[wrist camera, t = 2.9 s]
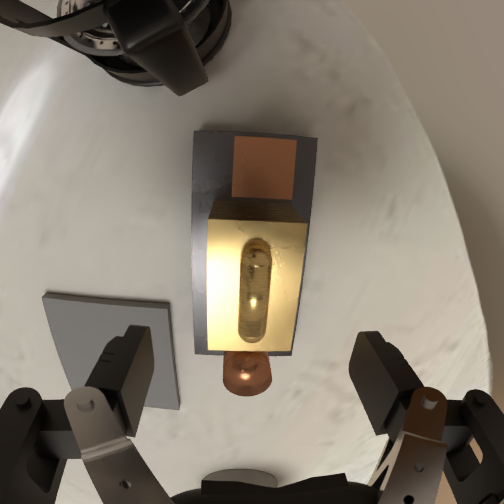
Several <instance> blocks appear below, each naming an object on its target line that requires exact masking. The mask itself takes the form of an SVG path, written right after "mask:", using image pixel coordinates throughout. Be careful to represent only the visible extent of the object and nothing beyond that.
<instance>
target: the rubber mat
mask: <svg viewBox="0 0 504 504" xmlns="http://www.w3.org/2000/svg"><path fill="white" fill-rule="evenodd" d="M42 301H43V305H44V308H45V312H46V316H47V320H48V323H49V327H50V330H51V333H52V337H53V340H54V343H55V346H56V349H57V352H58V355H59V358H60V361H61V363H62V366H63V369H64V372H65V374H66V377H67V380H68V382H69V385H70V387H71V390H74V389H76V388H79V387H84V385H85V383H86V381H87V380H88V378H89V376H90V374H91V372H92V370H93V368H94V366H95V364H96V363H97V361H98V359H99V357H100V355H101V354H102V351H103V350H104V348H105V346H106V344H107V343H108V342H109V341H110V340H112V339H113V338H114V337H116V336H122V337H123V336H124V334H125V332H126V330H127V328H128V326H129V325H130V324H132V325H142V326H149V327H150V330H151V337H152V345H153V353H154V373H153V376H152V380H151V383H150V386H149V390H148V393H147V396H146V400H145V403H144V406H145V407H153V408H162V409H172V410H179V408H180V399H179V392H178V384H177V376H176V368H175V359H174V350H173V340H172V329H171V317H170V304H168V303H152V302H137V301H124V300H112V299H100V298H89V297H79V296H69V295H60V294H51V293H46V294H45V295H44V296H43V297H42Z"/></svg>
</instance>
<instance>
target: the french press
mask: <svg viewBox="0 0 504 504" xmlns="http://www.w3.org/2000/svg"><path fill="white" fill-rule="evenodd" d="M208 3H209V5H210V9H211V21H210V24H209V27H208V30H207V32H206V34H205V35H204V37H203V39H202V40H201V41H200V42H199V43H198V44H197V45H196V46H195V45H194V43H193V40H192V38H191V35H190V33H189V31H188V28H187V26H188V25H189V24H190V23H191V22H193V21H194V20H195V18H196V17H197V16H198V15H199V14H200V12H201V11H202V10H203V9H204V8H205V7H206V5H207V4H208ZM0 23H2V24H4V25H7V26H9V27H12V28H14V29H17V30H19V31H22V32H24V33H27V34H29V35H32V36H40V37H48V38H50V39H52V40H54V41H56V42H59V43H61V44H63V45H65V46H67V47H69V48H71V49H73V50H75V51H77V52H79V53H81V54H83V55H85V56H87V57H88V58H89V59H90V60H91V61H92V62H93V63H94V64H96V65H98V66H100V67H102V68H103V69H104V70H105V71H106V72H107V73H108V74H109V75H111V76H112V77H114V78H116V79H118V80H119V81H121V82H124V83H127V84H130V85H134V86H144V87H151V86H162V85H165V86H167V87H168V88H169V89H170V90H172V91H173V92H174V93H175V94H177V95H178V96H182V95H184V94H186V93H188V92H190V91H192V90H194V89H196V88H197V87H199V86H201V85H203V84H205V83H207V82H208V77H207V74H206V72H205V69H204V66H205V65H206V64H207V63H208V62H209V61H211V60H212V59H213V58H214V56H215V55H216V54H217V53H218V51H219V50H220V49H221V48H222V46H223V44H224V42H225V40H226V38H227V36H228V33H229V30H230V26H231V7H230V2H229V0H59V2H58V6H57V18H54V19H52V18H50V17H49V16H47V15H45V14H43V13H41V12H40V11H38V10H36V9H34V8H32V7H30V6H28V5H26V4H25V3H23V2H21V1H19V0H0ZM122 54H126V55H127V56H128V57H130V58H131V59H132V60H134V61H135V62H136V63H137V64H139V65H140V66H136V65H132V64H129V63H127V62H125V61H123V60H122V59H121V58H120V57H119V56H118V55H122Z"/></svg>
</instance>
